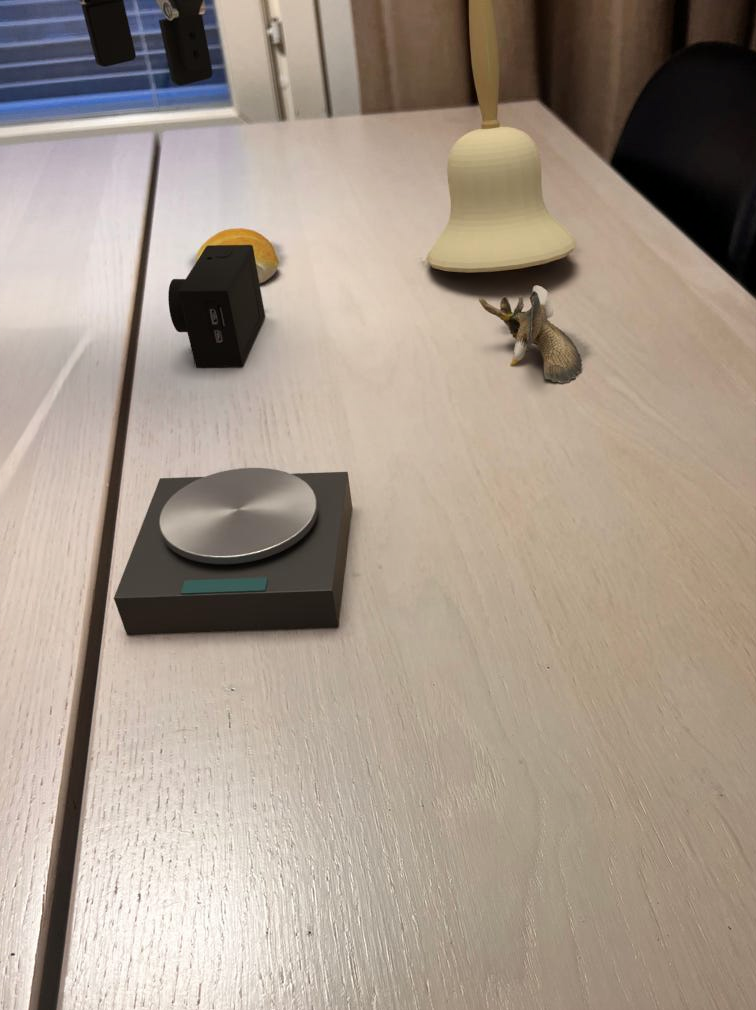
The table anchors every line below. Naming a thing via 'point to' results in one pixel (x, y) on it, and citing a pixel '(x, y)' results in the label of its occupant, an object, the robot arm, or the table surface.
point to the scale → (239, 575)
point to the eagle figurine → (539, 335)
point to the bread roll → (240, 236)
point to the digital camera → (219, 305)
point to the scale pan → (238, 515)
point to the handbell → (495, 181)
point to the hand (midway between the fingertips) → (153, 71)
